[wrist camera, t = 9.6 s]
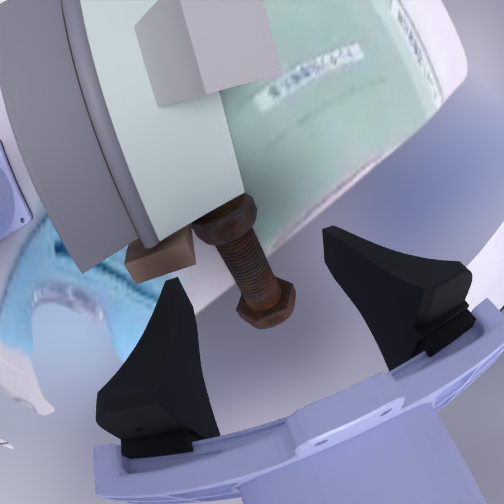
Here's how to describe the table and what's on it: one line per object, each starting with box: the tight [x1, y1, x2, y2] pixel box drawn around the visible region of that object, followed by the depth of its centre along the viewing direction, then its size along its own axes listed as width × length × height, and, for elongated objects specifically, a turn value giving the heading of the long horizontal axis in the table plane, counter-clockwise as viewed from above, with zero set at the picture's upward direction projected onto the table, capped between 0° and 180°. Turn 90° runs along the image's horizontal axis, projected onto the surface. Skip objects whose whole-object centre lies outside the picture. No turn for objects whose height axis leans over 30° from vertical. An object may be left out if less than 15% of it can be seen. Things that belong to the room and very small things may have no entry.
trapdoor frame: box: [60, 0, 196, 284], centre depth 13 cm, size 5×22×7 cm, turn 12°
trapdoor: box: [0, 0, 245, 274], centre depth 11 cm, size 11×18×3 cm, turn 12°
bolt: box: [191, 193, 296, 329], centre depth 22 cm, size 6×5×15 cm
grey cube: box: [134, 0, 282, 107], centre depth 10 cm, size 4×5×5 cm
